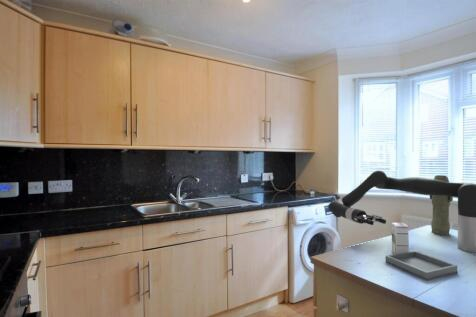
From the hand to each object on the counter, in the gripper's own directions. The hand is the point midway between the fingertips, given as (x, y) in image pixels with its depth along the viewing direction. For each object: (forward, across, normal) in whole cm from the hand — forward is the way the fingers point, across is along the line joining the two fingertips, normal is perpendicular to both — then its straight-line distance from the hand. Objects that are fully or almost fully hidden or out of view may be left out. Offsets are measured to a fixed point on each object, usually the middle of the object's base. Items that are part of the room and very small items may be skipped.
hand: (379, 222), depth 139 cm
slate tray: (+26, -6, +12) cm, 29 cm away
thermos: (-4, +54, +12) cm, 55 cm away
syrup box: (+12, 0, +12) cm, 17 cm away
